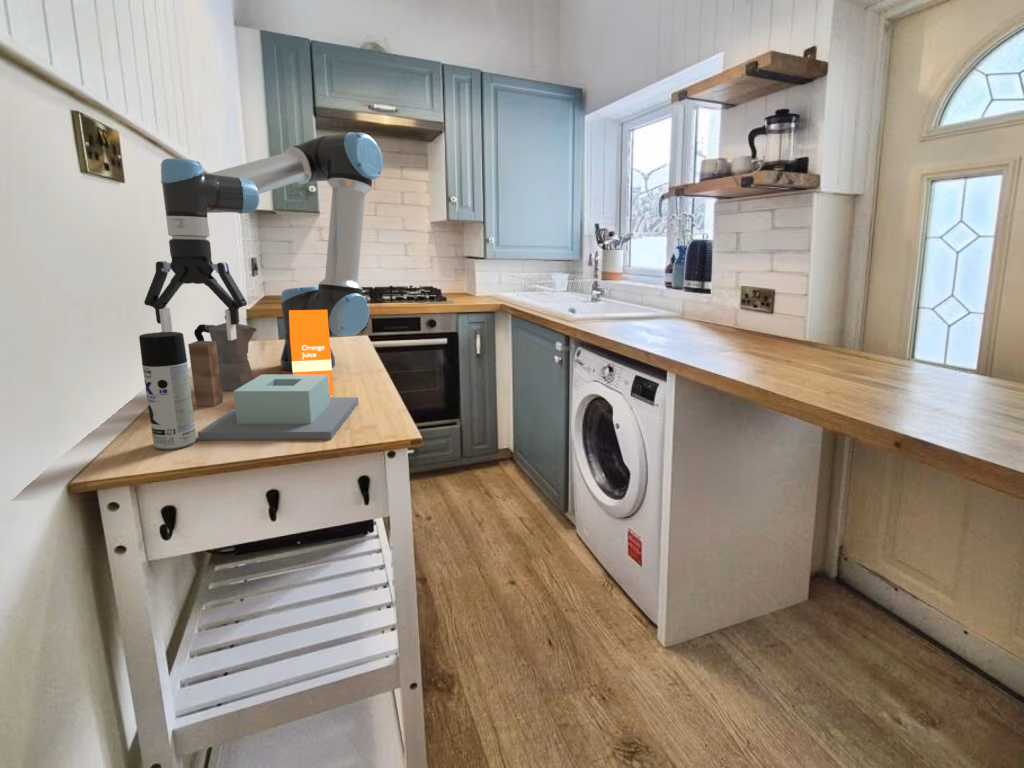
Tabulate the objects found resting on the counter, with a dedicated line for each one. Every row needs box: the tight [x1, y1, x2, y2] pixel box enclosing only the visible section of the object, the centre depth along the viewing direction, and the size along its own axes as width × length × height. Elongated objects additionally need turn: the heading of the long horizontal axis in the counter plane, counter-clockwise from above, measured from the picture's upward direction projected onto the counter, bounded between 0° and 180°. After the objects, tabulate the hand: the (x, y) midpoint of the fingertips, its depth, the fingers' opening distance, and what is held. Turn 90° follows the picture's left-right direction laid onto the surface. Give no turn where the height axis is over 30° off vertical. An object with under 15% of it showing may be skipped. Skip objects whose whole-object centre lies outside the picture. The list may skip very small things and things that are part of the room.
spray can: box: [138, 331, 197, 451], centre depth 99 cm, size 7×7×20 cm
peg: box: [188, 340, 224, 408], centre depth 124 cm, size 4×4×14 cm
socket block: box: [197, 373, 360, 441], centre depth 114 cm, size 24×24×8 cm
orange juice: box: [289, 310, 334, 395], centre depth 135 cm, size 8×9×20 cm
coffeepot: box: [194, 316, 257, 392], centre depth 139 cm, size 15×9×18 cm, turn 88°
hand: (200, 339), depth 122 cm, fingers open, 13 cm apart
